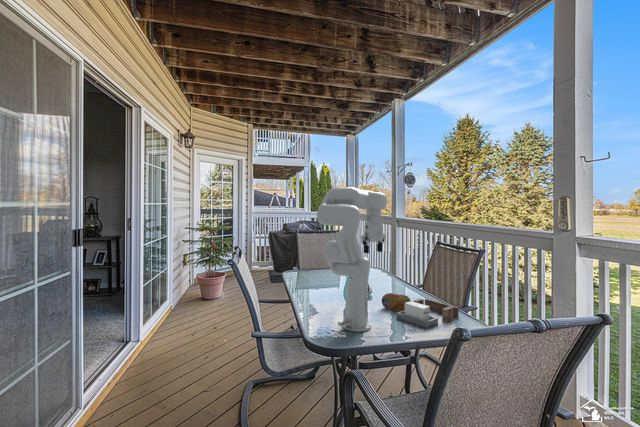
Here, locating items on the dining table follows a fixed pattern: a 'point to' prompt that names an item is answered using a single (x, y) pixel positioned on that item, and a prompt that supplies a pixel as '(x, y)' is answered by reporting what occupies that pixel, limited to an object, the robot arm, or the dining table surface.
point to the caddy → (417, 311)
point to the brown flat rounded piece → (395, 301)
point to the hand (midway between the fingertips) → (373, 252)
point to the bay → (441, 309)
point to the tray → (417, 320)
